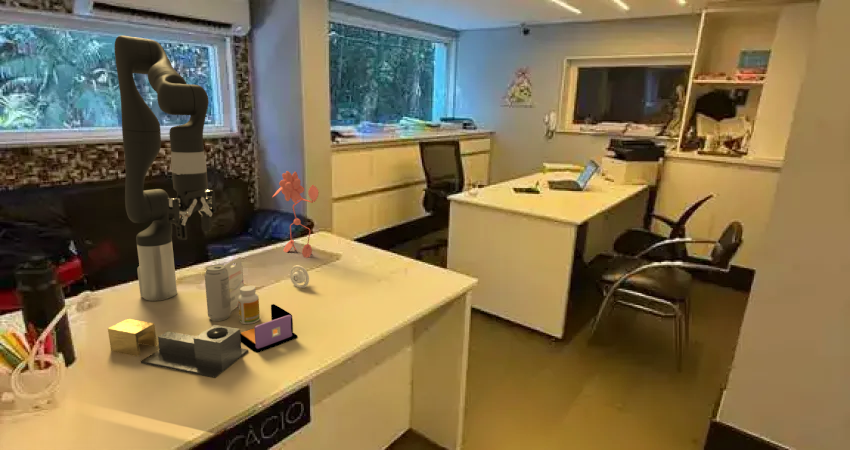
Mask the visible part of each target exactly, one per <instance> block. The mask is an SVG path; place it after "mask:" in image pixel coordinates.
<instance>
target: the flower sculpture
mask: <svg viewBox="0 0 850 450" xmlns="http://www.w3.org/2000/svg"><path fill="white" fill-rule="evenodd" d="M281 177H282V179H281V180H280V181H279V183H278V185H279V186H280V187H279V188H278V189H277V190H276V191H275V193H274V194H273V195H272V198H274V197H276V196H277V195H278V194H279V193H280V192H281V193H282V195H284V199H285V201H286V202H289V201H290V200H291V201H292V202H293V203H294V204H292V210H293V214H294V219H293V222H292V223H291V224H290V225H289V233H290V235H289V237H290V240H289V241H288V242H287V243H286V244H285V246H284V248H283V252H284V253H289V252H290V250H292V248H293V249H294V250H295V251H296V250H297V248H296V246H295V241H294V239H292V225H295V226H299V225H300V226H302V227H303V228H305V229H308V230H309V232H308V237H307V238H308V239H307V243H306V244H305V245H304V246H303V248H302V250H301V253H302V257H303V258H306V259H307V258H310V257H311V256H312V255H313V248H312V246H311V244H309V241H310V236H311V229H310V228H309V227H307V226H305V225H303V224H302V223H301V222H302V221H301V219H300V218H298V217H297V215H296V211H295V206H296V205H297V204H299V203H300V202H301V201H304V202H308V203H311V204H313V203H314V202H316V201H317V199H318V198H319V193H320V191H319V189H318V188H317V186H316V185H314V184H311V186H310V187H309V189H308V193H307V194H308V197H309V198H310V200H308V199H305V198H303V197H302V195H301V194H302V193H304V192H305V188H304V187H303V186H302V185H301V179H300V178H299V176H298V173H297V171H294V172H293V173H291V172H290V171H289V170H286V171H285V173H284V172H283V173H282V174H281Z"/></svg>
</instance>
